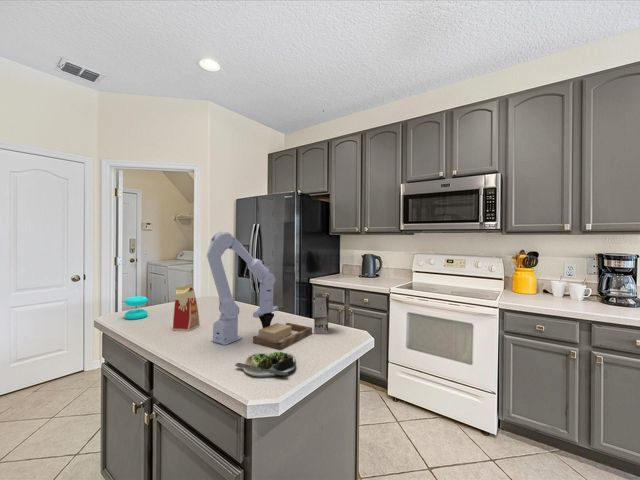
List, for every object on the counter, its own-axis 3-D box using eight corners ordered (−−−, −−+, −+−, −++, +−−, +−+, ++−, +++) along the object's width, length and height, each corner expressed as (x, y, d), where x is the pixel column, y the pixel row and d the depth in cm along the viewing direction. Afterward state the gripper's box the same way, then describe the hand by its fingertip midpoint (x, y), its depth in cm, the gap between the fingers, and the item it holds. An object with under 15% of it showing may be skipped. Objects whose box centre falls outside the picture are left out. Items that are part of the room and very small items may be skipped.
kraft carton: (273, 343, 120) (273, 333, 120) (258, 339, 124) (258, 329, 124) (291, 335, 130) (291, 326, 130) (277, 331, 134) (277, 322, 134)
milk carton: (199, 325, 140) (200, 282, 140) (189, 331, 131) (189, 286, 131) (181, 324, 141) (181, 282, 141) (169, 330, 132) (170, 285, 132)
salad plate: (230, 382, 88) (230, 366, 88) (240, 357, 105) (240, 344, 105) (295, 380, 90) (296, 365, 89) (295, 356, 107) (295, 343, 107)
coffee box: (328, 334, 131) (329, 297, 131) (313, 333, 131) (314, 297, 131) (328, 327, 140) (328, 293, 140) (314, 327, 140) (315, 293, 140)
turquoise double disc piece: (120, 298, 150) (141, 295, 158) (120, 317, 150) (141, 313, 158) (130, 300, 144) (151, 297, 153) (130, 321, 145) (151, 316, 153)
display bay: (279, 350, 112) (279, 343, 112) (252, 342, 119) (252, 336, 119) (312, 333, 132) (312, 327, 132) (287, 328, 139) (287, 322, 139)
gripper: (270, 295, 138) (269, 324, 139) (247, 301, 126) (247, 333, 126) (282, 297, 135) (281, 327, 135) (260, 303, 122) (260, 336, 123)
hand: (266, 330), depth 130 cm, fingers closed
